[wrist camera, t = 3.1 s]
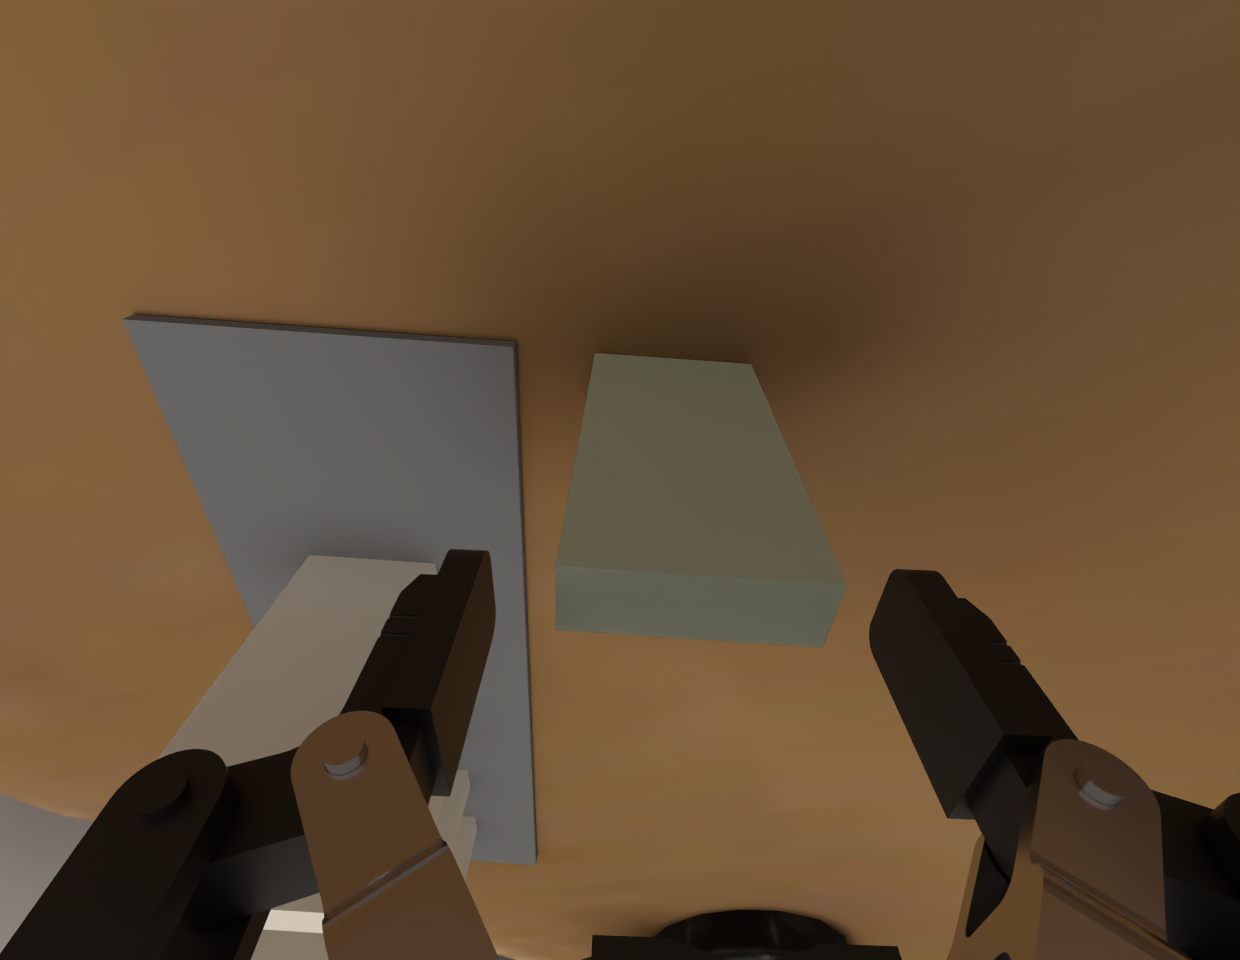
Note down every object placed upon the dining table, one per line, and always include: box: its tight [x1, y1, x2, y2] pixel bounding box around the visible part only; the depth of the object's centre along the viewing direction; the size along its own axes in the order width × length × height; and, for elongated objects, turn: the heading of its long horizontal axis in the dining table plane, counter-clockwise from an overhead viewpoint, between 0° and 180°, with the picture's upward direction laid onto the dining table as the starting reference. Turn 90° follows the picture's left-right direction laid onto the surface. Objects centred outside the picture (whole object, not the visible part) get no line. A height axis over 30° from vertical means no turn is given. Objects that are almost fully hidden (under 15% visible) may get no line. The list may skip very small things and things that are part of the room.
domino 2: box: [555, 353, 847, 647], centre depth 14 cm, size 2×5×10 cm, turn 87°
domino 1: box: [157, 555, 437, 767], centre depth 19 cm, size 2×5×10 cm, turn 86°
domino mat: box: [122, 314, 537, 865], centre depth 27 cm, size 35×12×1 cm, turn 176°
